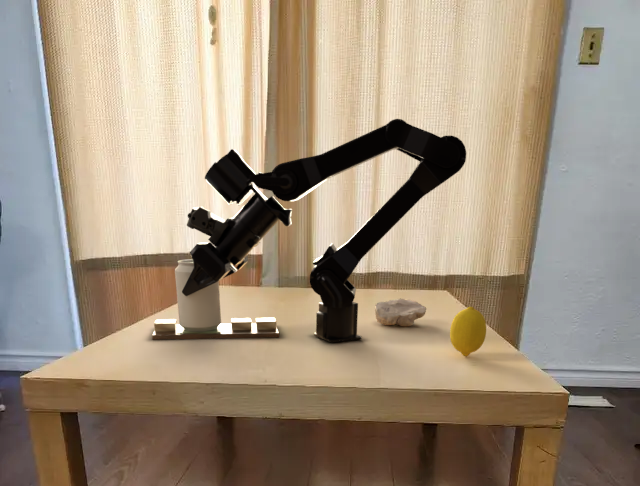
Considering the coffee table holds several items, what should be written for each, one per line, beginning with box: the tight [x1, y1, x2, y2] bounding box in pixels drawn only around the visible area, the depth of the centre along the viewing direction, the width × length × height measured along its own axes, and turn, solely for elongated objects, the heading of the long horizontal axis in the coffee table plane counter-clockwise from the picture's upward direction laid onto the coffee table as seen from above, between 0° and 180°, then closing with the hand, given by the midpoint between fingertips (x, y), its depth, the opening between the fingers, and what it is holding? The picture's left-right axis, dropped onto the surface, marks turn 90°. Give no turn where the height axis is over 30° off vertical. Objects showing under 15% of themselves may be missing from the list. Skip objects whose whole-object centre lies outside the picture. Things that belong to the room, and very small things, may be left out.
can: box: [174, 258, 222, 332], centre depth 102 cm, size 8×8×12 cm
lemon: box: [449, 305, 487, 357], centre depth 91 cm, size 6×6×8 cm
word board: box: [151, 317, 280, 341], centre depth 105 cm, size 22×9×2 cm, turn 99°
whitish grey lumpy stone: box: [374, 298, 427, 327], centre depth 115 cm, size 9×6×10 cm
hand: (190, 290), depth 102 cm, fingers closed on can, 7 cm apart
